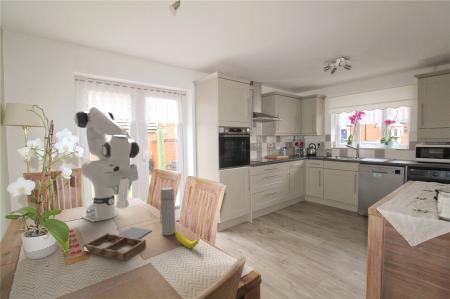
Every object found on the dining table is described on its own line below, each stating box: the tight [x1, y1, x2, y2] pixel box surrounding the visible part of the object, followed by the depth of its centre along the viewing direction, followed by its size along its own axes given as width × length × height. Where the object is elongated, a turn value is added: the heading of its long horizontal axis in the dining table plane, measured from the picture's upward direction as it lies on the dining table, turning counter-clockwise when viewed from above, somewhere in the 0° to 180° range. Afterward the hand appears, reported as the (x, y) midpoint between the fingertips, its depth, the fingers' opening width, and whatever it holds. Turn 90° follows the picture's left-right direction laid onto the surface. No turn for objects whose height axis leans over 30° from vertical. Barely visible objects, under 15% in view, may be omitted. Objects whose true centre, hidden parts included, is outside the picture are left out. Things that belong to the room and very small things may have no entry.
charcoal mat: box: [117, 226, 152, 239], centre depth 117 cm, size 14×12×1 cm
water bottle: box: [159, 186, 176, 237], centre depth 117 cm, size 9×8×25 cm
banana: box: [174, 230, 200, 249], centre depth 102 cm, size 3×19×6 cm, turn 48°
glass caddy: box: [83, 232, 147, 262], centre depth 102 cm, size 25×13×3 cm, turn 70°
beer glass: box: [115, 178, 130, 209], centre depth 111 cm, size 7×7×15 cm
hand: (122, 192), depth 111 cm, fingers closed on beer glass, 6 cm apart
